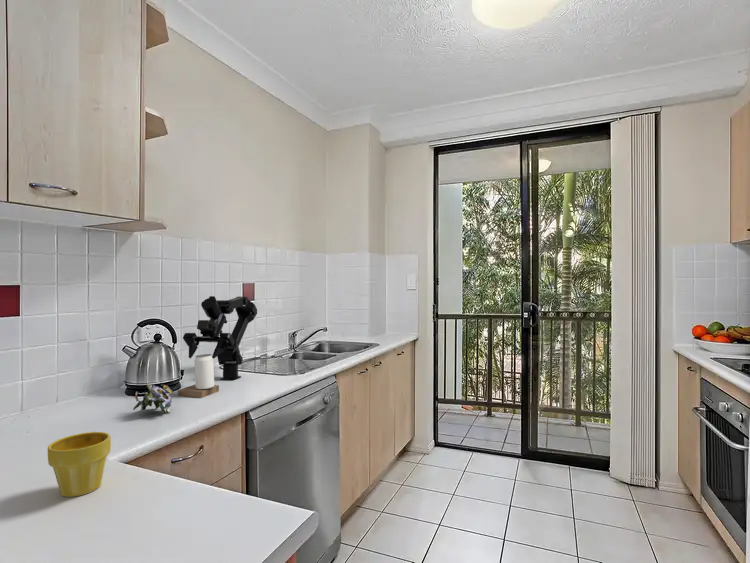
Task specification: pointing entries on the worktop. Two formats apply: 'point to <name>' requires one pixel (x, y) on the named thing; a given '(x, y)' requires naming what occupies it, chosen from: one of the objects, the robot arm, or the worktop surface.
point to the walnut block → (197, 391)
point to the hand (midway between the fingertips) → (201, 357)
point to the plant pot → (79, 462)
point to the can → (204, 371)
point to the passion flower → (156, 398)
